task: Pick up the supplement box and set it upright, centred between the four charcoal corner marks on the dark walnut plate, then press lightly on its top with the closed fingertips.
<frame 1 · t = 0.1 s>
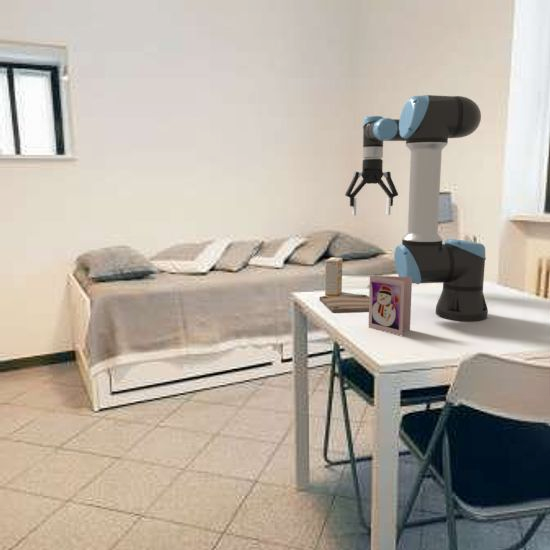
hand: (371, 215, 204), 28 cm above the table, fingers open, 13 cm apart
supplement box: (333, 294, 195), on the table
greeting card: (391, 330, 148), on the table
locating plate: (350, 305, 177), on the table
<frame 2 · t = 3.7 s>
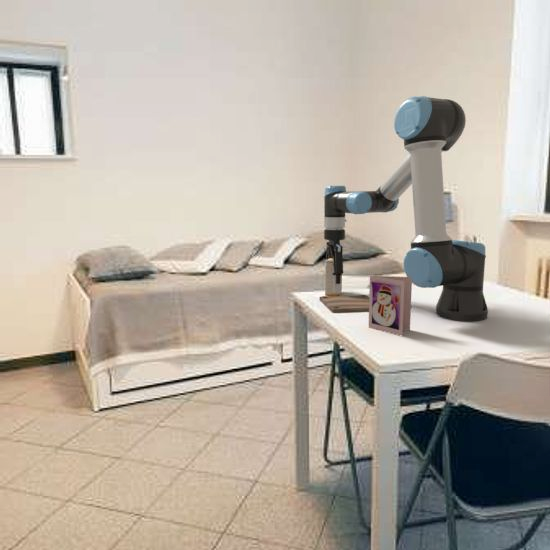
hand: (333, 289, 195), 2 cm above the table, fingers closed on supplement box, 9 cm apart
supplement box: (333, 294, 195), on the table, touching gripper
everything else where it was.
when the fingers open (4 cm above the table, at t = 10.3 s): supplement box moves 1 cm, resting on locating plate.
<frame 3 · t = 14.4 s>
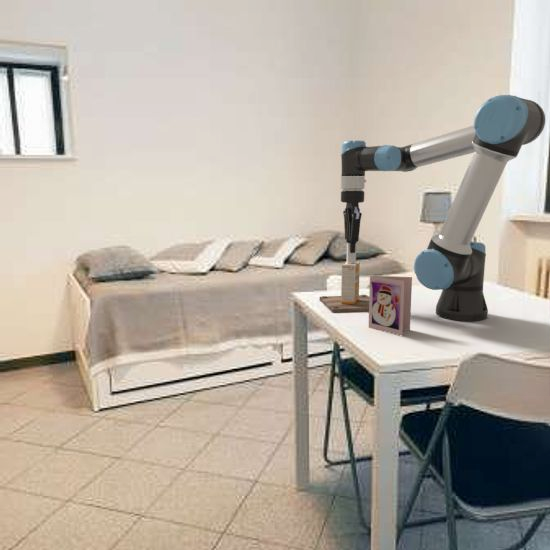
hand: (351, 262, 175), 15 cm above the table, fingers closed
supplement box: (350, 302, 177), point 1 cm above the table, touching gripper, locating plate
everything else where it was.
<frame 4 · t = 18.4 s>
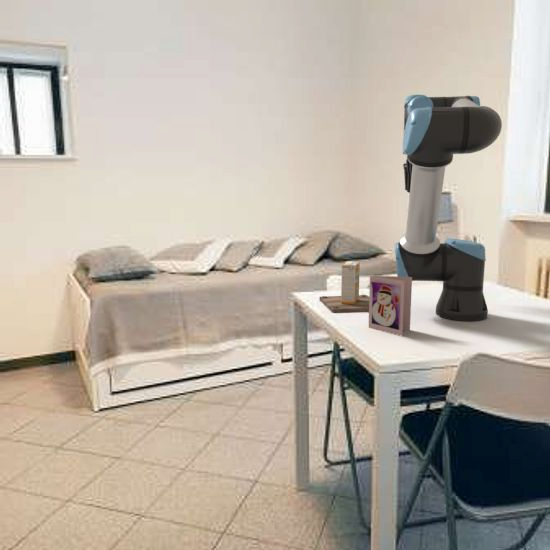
hand: (411, 211, 187), 30 cm above the table, fingers closed
supplement box: (350, 302, 177), point 1 cm above the table, touching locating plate
everything else where it was.
at the end: supplement box 0.1 cm off-centre on the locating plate, point 1.0 cm above the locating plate's base; supplement box tilted 0°; the gripper is holding nothing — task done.
